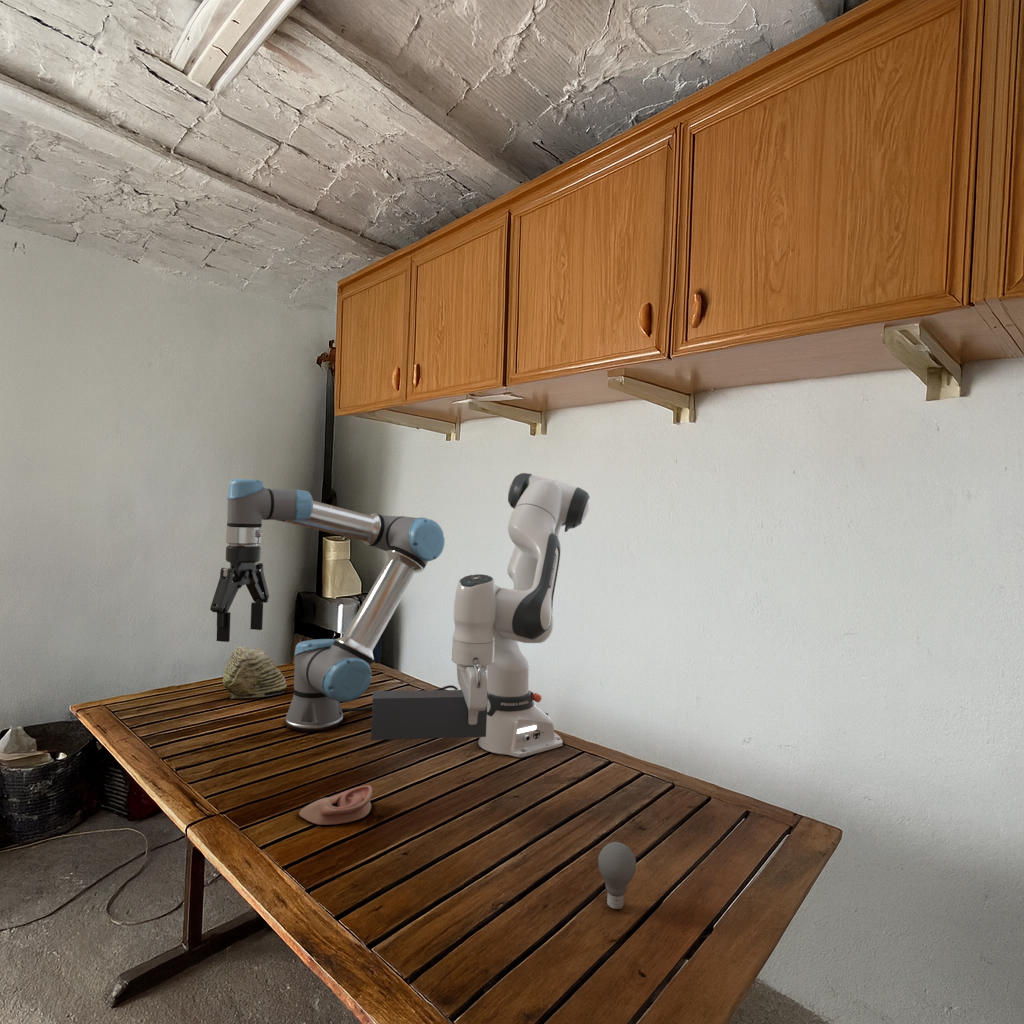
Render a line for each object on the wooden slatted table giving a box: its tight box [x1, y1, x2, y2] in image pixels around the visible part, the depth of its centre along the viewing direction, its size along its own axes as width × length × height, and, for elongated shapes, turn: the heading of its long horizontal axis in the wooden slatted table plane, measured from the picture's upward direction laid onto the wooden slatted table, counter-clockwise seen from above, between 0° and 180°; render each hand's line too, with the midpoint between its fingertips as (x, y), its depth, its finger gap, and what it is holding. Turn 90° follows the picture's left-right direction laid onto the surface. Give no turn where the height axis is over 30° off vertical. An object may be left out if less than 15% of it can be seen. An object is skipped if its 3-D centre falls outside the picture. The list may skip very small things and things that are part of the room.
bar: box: [370, 689, 488, 741], centre depth 132 cm, size 23×5×8 cm, turn 101°
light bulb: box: [597, 841, 637, 910], centre depth 101 cm, size 6×6×10 cm
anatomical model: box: [298, 784, 373, 826], centre depth 127 cm, size 13×4×12 cm
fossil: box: [222, 646, 288, 699], centre depth 198 cm, size 9×18×15 cm, turn 132°
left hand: (240, 635), depth 149 cm, fingers open, 13 cm apart
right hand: (470, 718), depth 133 cm, fingers closed on bar, 5 cm apart
